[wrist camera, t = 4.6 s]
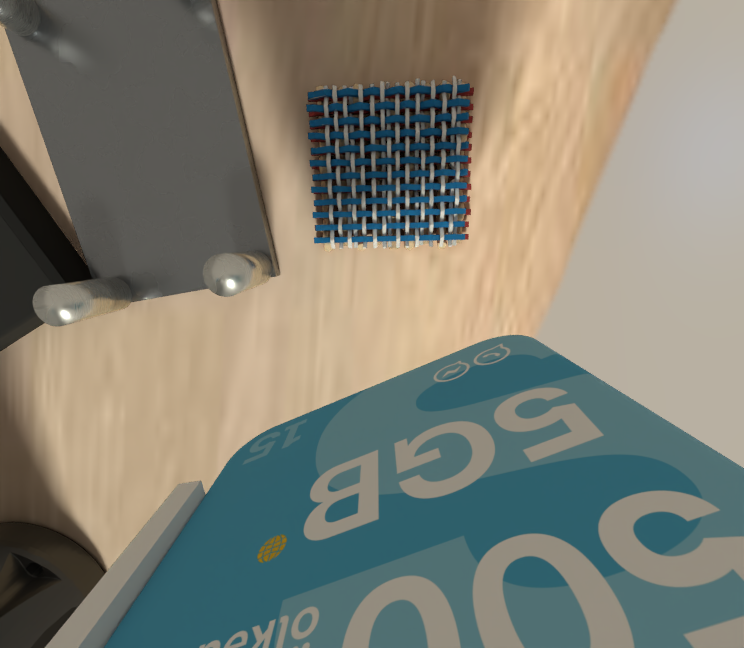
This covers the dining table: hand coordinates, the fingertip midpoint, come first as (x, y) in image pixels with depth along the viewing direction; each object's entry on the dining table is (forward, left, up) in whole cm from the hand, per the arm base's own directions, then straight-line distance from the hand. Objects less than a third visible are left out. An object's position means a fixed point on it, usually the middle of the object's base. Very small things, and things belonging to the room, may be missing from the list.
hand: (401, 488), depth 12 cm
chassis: (-14, +16, -16) cm, 26 cm away
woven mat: (+2, +12, -17) cm, 21 cm away
